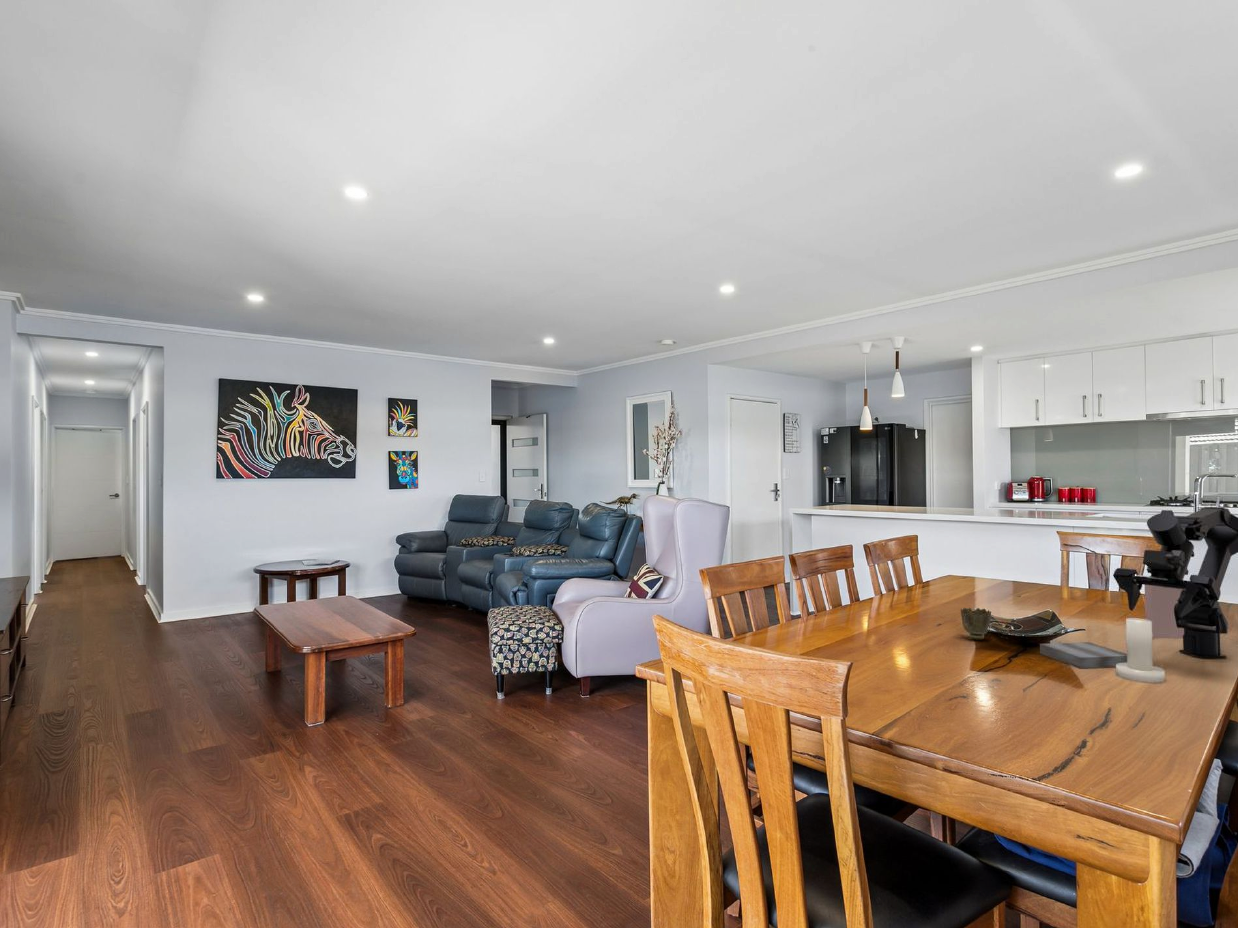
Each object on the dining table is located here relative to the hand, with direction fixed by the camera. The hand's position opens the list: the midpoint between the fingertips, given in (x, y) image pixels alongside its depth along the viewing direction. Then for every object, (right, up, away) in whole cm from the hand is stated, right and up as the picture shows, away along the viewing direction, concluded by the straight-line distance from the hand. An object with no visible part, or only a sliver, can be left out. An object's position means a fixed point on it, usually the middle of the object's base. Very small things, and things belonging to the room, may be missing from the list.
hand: (1154, 612), depth 151 cm
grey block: (-9, -14, +10) cm, 19 cm away
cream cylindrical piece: (-6, -13, -4) cm, 15 cm away
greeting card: (+30, -14, +31) cm, 45 cm away
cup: (-23, -14, +31) cm, 42 cm away
